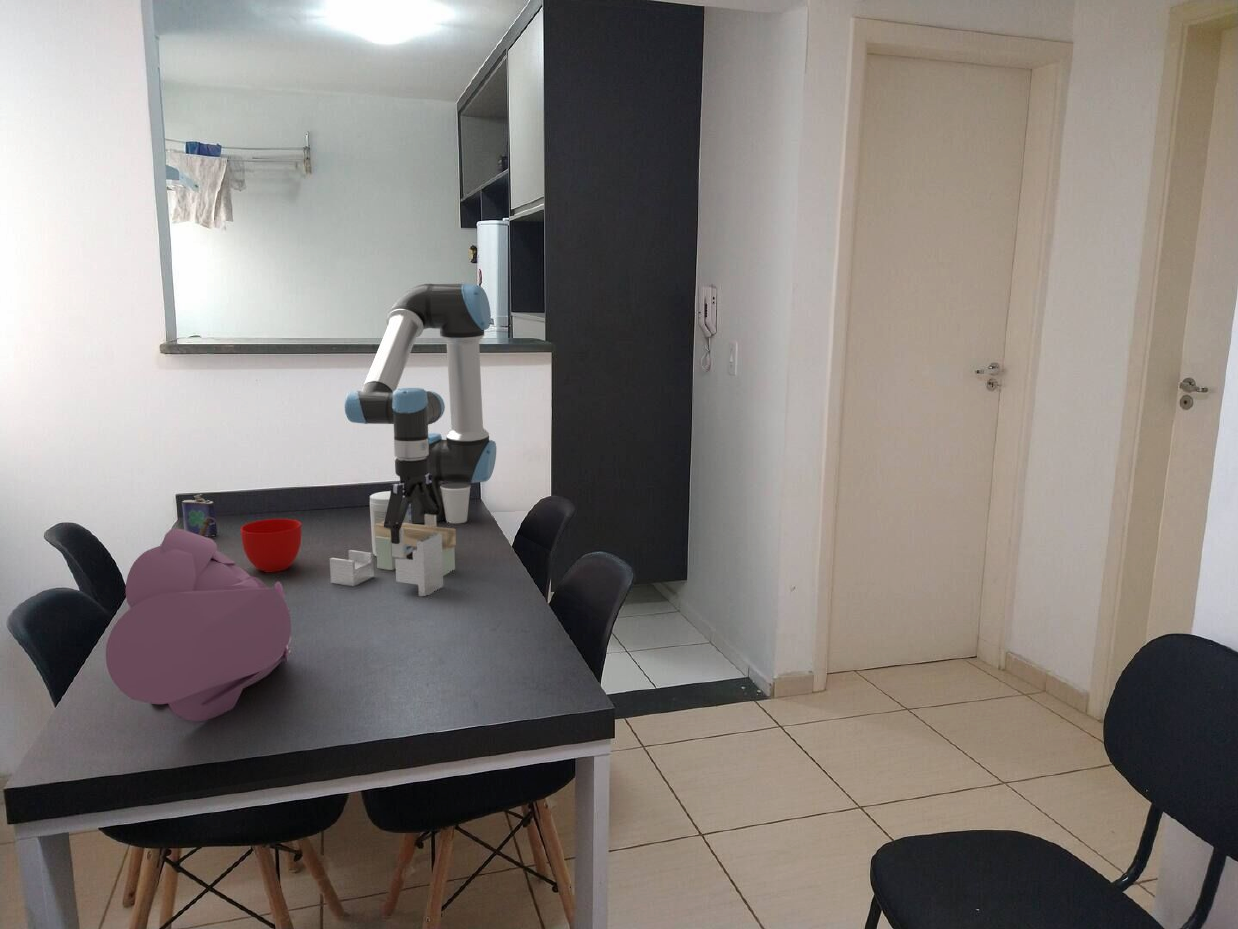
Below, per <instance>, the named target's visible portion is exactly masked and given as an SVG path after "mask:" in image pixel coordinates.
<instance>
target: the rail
mask: <svg viewBox="0 0 1238 929" xmlns="http://www.w3.org/2000/svg"><path fill="white" fill-rule="evenodd" d="M389 523H390V522H389ZM374 527H375V537H376V536H380V537H388V538H391V530H390V529H388V528H384V521H383V522H380V523H377V524H375V525H374ZM401 528H402V529H404V545H407V546H413V547H416V548H417V541H418V540H420V539H422V538H425V537H427V536H429V535H431V534H434V533H442V550H445V551H447V550H449V549H451V548H453V547H454V548H455V547H456V545H457V543H456V541H457V540H456V535H457V534H456V528H451V527H442V526H441V527H440V526H436V527H435V526H426V525H425V524H419V523H412V524H409V523H402V526H401Z"/></svg>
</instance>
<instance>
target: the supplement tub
mask: <svg viewBox="0 0 1238 929" xmlns="http://www.w3.org/2000/svg"><path fill="white" fill-rule="evenodd" d="M390 494H391V490H389V491H380V492H375V493H372V494H371V495H370V496H369V514H370V531H371V533H370V534H371V547H372V548H371V549H372V553H373V556H375V557H377V550H376V543H375V527H374V525H375V524H377V523H380V522H383V521H385V517H386V512H387V508H388V503H389V499H390ZM403 497H404V495H403ZM403 523H409V524H413V523H412V522H411V504H410V505H409V507H408V510H407V513H406V515H405V518H404V521H403ZM413 547H414V546H407V545H406V550H407V556H409V555H410V554H411V553H413V550H414V548H413Z"/></svg>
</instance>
